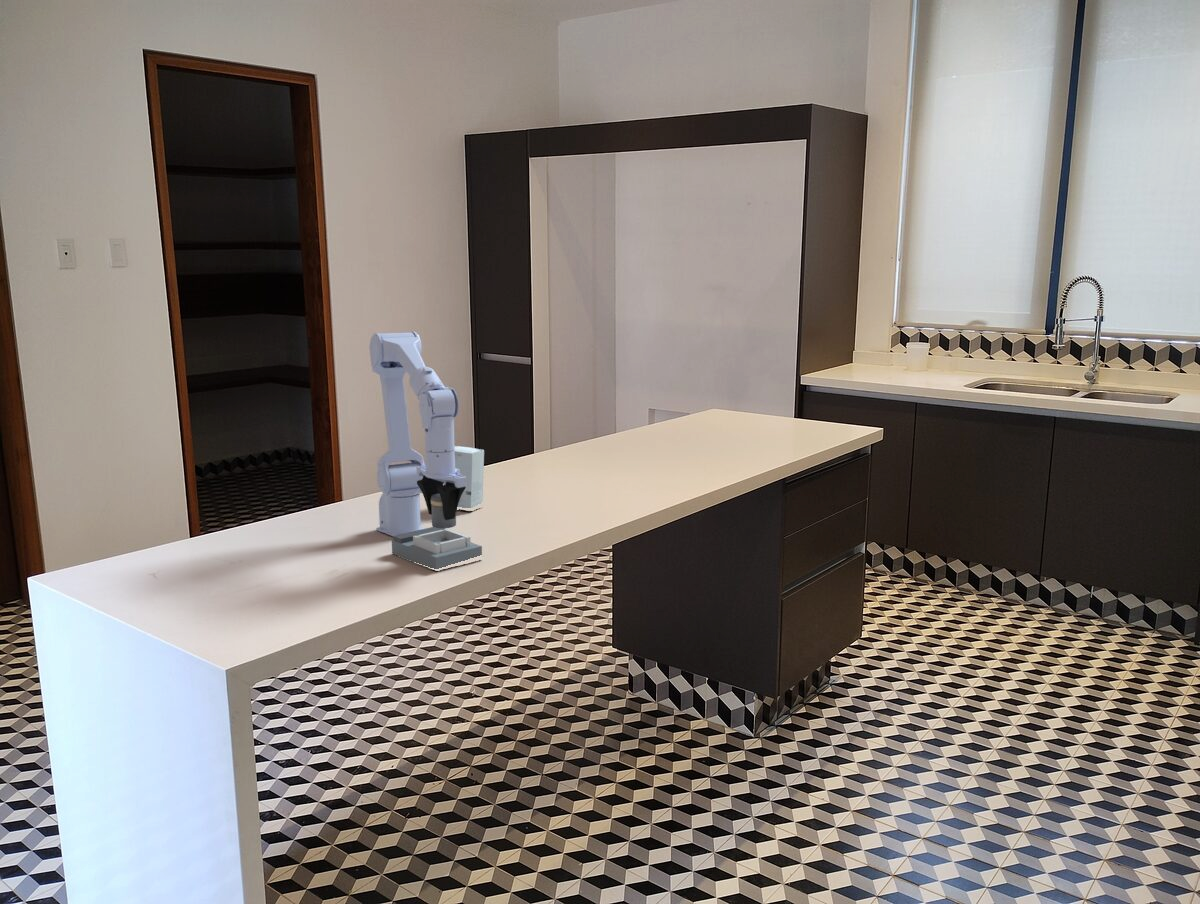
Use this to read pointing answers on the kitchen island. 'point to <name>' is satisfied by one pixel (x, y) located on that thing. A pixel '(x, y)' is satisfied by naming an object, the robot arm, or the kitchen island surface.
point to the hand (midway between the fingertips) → (442, 516)
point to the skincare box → (470, 475)
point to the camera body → (435, 547)
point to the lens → (440, 514)
